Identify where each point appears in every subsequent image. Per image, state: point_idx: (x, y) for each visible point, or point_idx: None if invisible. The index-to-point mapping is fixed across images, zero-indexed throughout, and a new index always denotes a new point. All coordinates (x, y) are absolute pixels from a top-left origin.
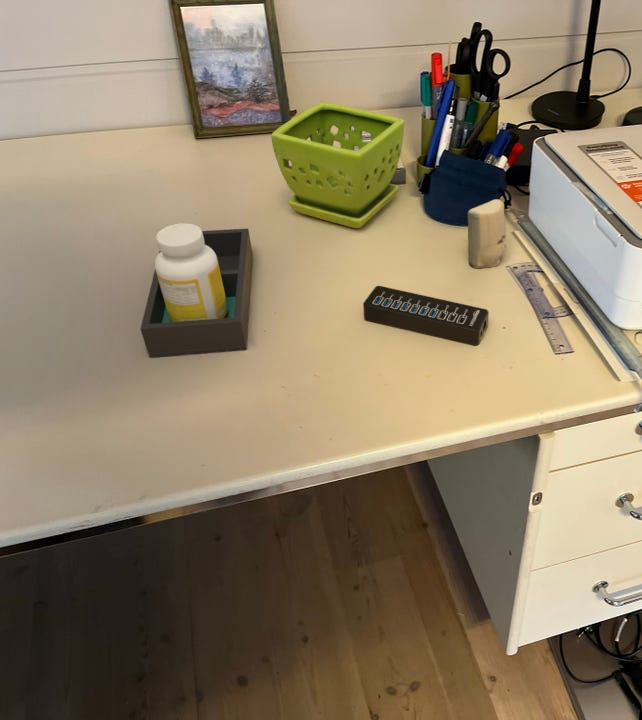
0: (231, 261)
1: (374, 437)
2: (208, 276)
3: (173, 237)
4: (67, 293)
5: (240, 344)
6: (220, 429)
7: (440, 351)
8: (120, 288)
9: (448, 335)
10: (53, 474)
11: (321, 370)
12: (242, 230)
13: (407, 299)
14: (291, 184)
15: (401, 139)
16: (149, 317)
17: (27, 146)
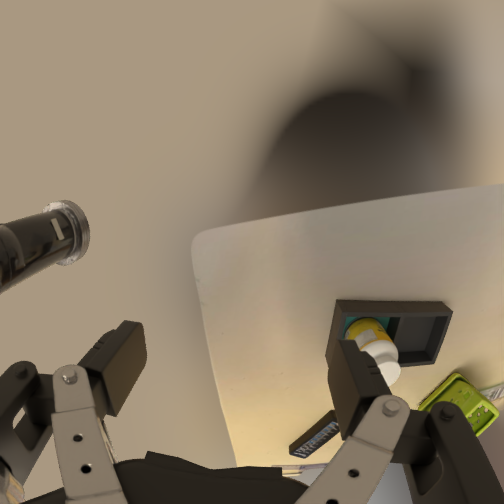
0: (421, 342)
1: (229, 405)
2: None
3: (381, 373)
4: (428, 233)
5: (326, 356)
6: (251, 342)
7: (289, 435)
8: (422, 271)
9: (298, 440)
10: (230, 251)
11: (291, 390)
12: (433, 361)
13: (328, 434)
14: (461, 385)
15: None
16: (354, 316)
17: None
